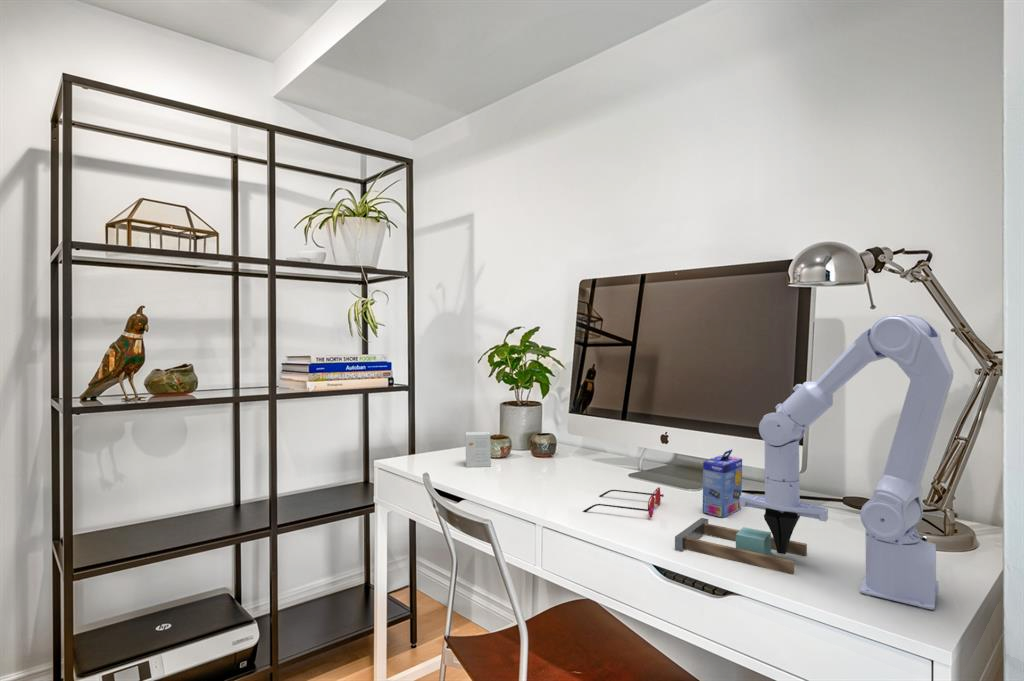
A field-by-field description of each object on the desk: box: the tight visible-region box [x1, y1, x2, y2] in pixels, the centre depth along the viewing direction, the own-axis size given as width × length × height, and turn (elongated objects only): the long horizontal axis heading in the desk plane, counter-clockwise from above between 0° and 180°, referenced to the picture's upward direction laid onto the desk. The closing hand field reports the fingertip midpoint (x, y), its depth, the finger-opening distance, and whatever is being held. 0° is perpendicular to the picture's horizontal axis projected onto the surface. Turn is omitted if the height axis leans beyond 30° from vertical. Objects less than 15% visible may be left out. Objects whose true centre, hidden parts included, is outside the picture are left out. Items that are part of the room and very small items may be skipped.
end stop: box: [674, 517, 709, 552], centre depth 113 cm, size 2×14×2 cm, turn 141°
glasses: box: [582, 487, 665, 518], centre depth 135 cm, size 14×16×5 cm
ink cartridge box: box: [702, 449, 743, 519], centre depth 131 cm, size 10×6×14 cm, turn 135°
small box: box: [464, 430, 492, 468], centre depth 181 cm, size 8×6×10 cm
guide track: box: [685, 523, 808, 575], centre depth 107 cm, size 19×11×2 cm, turn 51°
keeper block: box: [735, 526, 772, 556], centre depth 106 cm, size 5×5×4 cm
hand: (782, 552), depth 103 cm, fingers closed
